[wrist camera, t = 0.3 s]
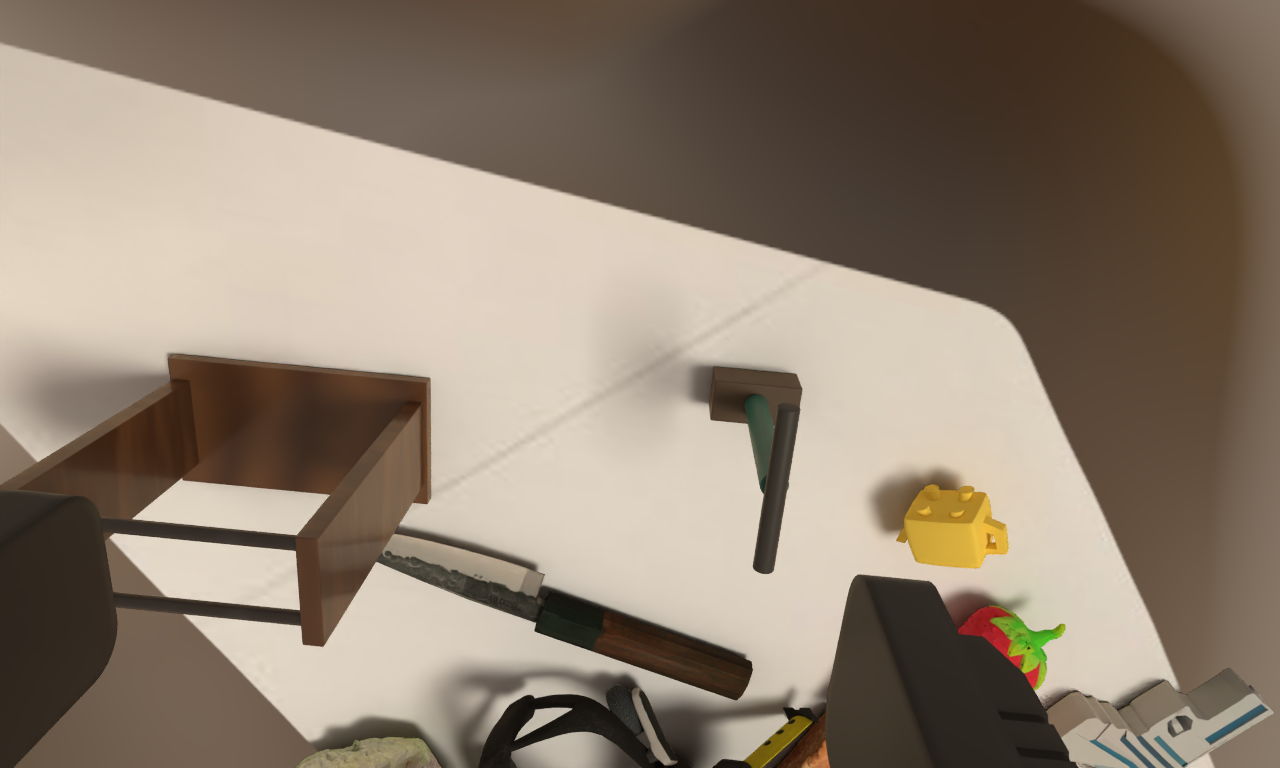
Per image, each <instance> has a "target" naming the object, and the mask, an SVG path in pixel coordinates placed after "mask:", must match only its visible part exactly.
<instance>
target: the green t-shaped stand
mask: <svg viewBox="0 0 1280 768" xmlns="http://www.w3.org/2000/svg"><path fill="white" fill-rule="evenodd" d="M801 395H802V387H801V385H800V382H799V380H798V377H797V375H796V374H787V373H777V372H766V371H756V370H745V369H735V368H724V367H714V368H713V377H712V385H711V393H710V401H709V408H710V419H711V420H714V421H725V422H735V423H746V424H748V427H749V432H750V437H751V443H752V448H753V453H754V458H755V463H756V469H757V474H758V479H759V484H760V489H761V491H762V492H763V494H764V497H763V504H762V510H761V517H760V523H759V529H758V536H757V542H756V549H755V555H754V562H753V568H754V570H755V571H757V572H759V573H762V574H770V573H772V572H773V571H774V566H775V560H776V554H777V548H778V542H779V536H780V530H781V523H782V517H783V511H784V505H785V499H786V493H787V490H788V487H789V482H788V481H789V475H790V469H791V463H792V457H793V451H794V445H795V439H796V433H797V427H798V421H799V415H800V401H801Z"/></svg>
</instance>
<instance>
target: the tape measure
mask: <svg viewBox="0 0 1280 768" xmlns="http://www.w3.org/2000/svg"><path fill="white" fill-rule="evenodd" d="M783 709H784V711H785V713H786V715H787V718H788V720H789V721H788V722H787V723H786V724H785V725H784V726H783V727H782V728H780V729H779V730H778V731H777V732H776V733H775V734H774V735H772V736H771V737H770V738H769V739H768V740H767V741H766V742H764V743H763V744H762V745H761V746H760V747H759V748H758V749H756V750H755V751H754V752H753V753H752V754H751V755H750V756H749V757H747V758H746V759H745V760H744V761H737V760H729V759H722V760H721V761H719V762H718V763H717V764H716V765H715V766H713V767H712V768H762V767H763V766H764V765H766V764H767V763H768V762H769V761H770V760H771V759H772V758H773V757H774V756H776V755H777V754H778V753H779V752H780V751H781V750H782V749H783V748H784V747H786V746H787V745H788V744H789V743H790V742H791V741H792V740H793V739H794V738H796V737H797V736H798V735H799V734H800V733H801V732H802V731H803V730H805V729H806V728H807V727H808V726H809V725H810V724H811V723H812V719H813V720H814V721H815V722H816V723H819V721H818V719H817V718H816V717H815V715H814V714H813V712H812V711H811V709H810V708H800V709H799V710H795V709H794V708H783Z"/></svg>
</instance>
